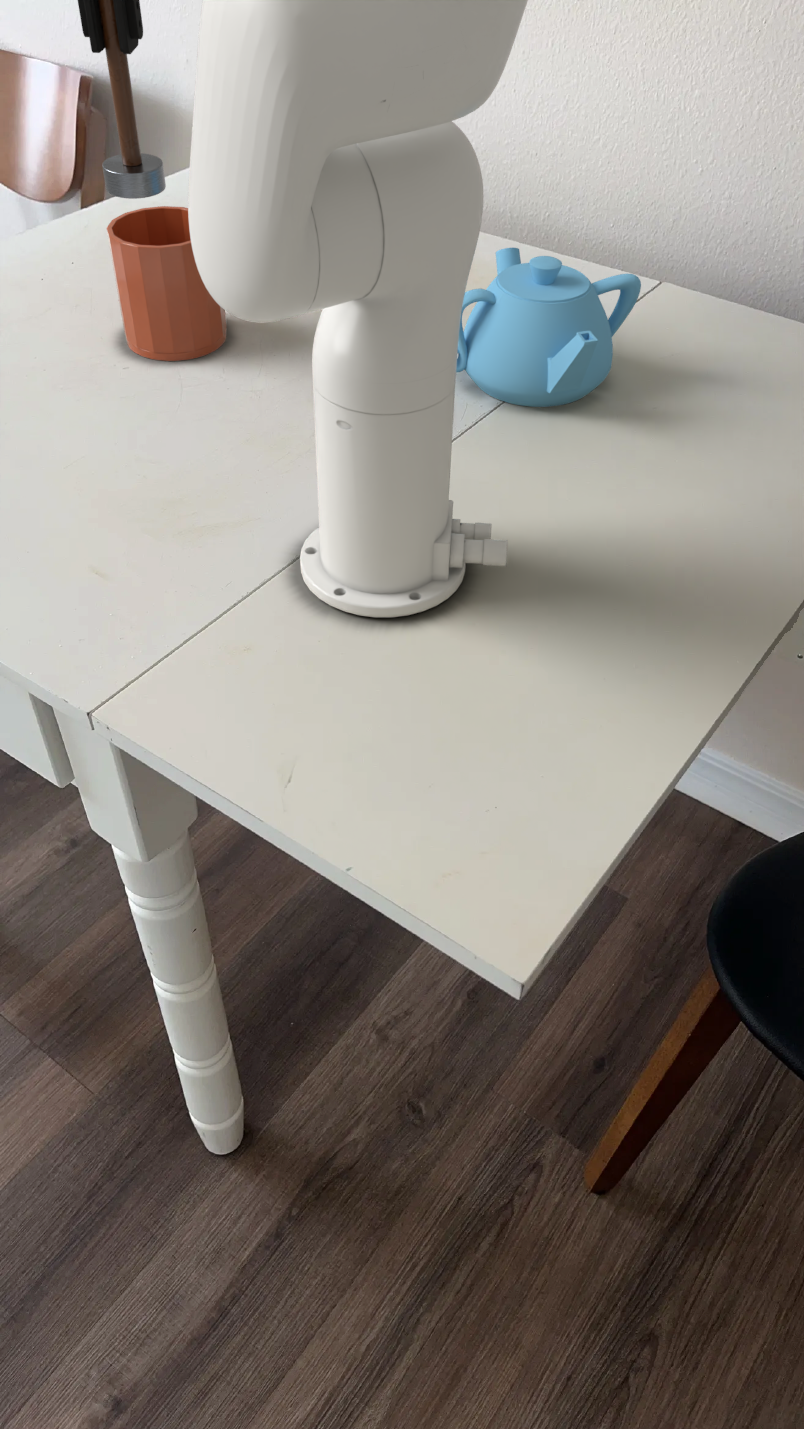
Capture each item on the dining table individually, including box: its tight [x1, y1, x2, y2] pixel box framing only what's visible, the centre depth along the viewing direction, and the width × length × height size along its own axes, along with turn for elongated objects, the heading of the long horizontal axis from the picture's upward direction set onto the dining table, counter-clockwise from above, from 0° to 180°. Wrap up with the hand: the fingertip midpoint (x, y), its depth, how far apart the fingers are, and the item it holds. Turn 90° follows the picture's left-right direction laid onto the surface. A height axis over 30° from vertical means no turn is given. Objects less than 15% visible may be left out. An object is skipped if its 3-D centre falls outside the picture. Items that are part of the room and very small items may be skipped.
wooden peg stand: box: [98, 0, 167, 200], centre depth 86 cm, size 5×5×16 cm
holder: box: [106, 205, 228, 362], centre depth 105 cm, size 10×10×11 cm
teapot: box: [456, 247, 642, 408], centre depth 101 cm, size 15×17×11 cm
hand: (115, 47), depth 84 cm, fingers closed on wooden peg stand
